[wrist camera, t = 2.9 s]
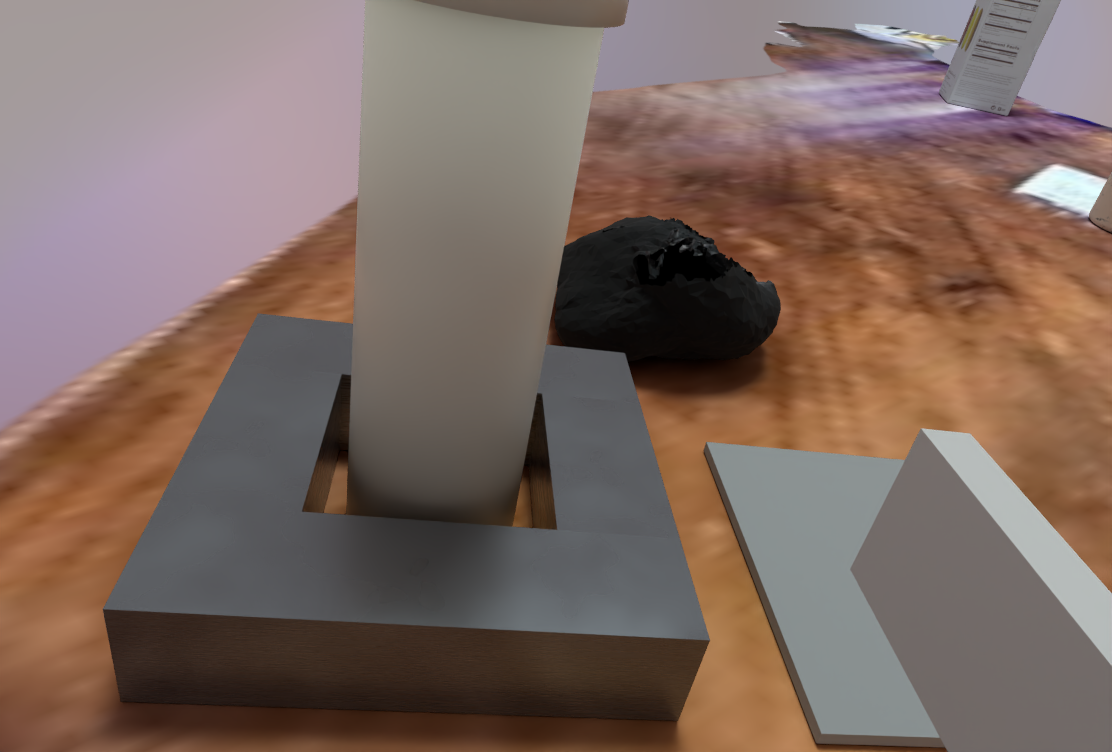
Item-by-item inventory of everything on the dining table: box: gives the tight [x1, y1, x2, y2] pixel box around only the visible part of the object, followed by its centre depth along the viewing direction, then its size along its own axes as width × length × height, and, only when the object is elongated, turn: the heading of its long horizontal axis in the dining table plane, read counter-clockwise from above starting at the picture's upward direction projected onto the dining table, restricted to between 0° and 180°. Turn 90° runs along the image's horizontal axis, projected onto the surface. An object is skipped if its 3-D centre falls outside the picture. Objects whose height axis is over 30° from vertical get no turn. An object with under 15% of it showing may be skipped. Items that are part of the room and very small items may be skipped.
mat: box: [704, 442, 945, 747], centre depth 26 cm, size 12×12×1 cm
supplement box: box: [939, 0, 1061, 116], centre depth 118 cm, size 10×9×17 cm
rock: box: [555, 215, 781, 362], centre depth 36 cm, size 9×10×10 cm
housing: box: [103, 314, 710, 721], centre depth 23 cm, size 13×13×3 cm
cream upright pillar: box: [346, 0, 629, 527], centre depth 20 cm, size 6×6×16 cm
